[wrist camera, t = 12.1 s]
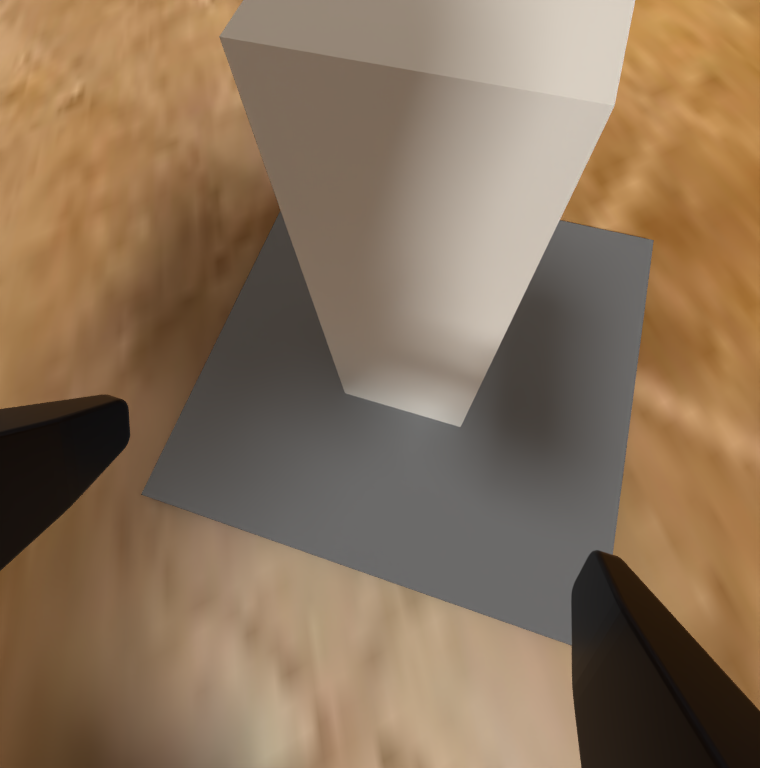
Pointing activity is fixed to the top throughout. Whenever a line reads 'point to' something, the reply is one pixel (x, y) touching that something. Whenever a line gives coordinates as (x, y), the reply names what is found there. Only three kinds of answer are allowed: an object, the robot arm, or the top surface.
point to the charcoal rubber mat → (427, 438)
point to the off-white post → (423, 167)
